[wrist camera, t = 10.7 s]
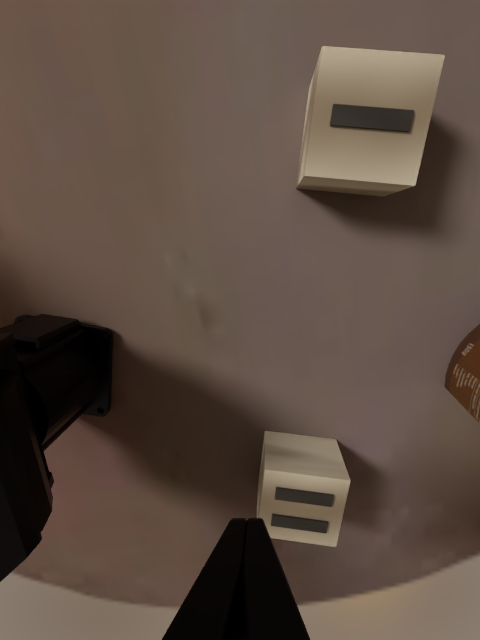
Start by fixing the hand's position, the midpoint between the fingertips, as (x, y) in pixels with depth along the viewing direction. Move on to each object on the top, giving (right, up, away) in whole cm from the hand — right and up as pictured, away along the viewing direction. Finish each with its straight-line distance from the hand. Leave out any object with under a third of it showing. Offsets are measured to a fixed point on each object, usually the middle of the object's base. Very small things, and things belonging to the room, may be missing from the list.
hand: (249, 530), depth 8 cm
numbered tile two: (+4, -5, +15) cm, 16 cm away
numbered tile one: (+6, +15, +9) cm, 19 cm away
